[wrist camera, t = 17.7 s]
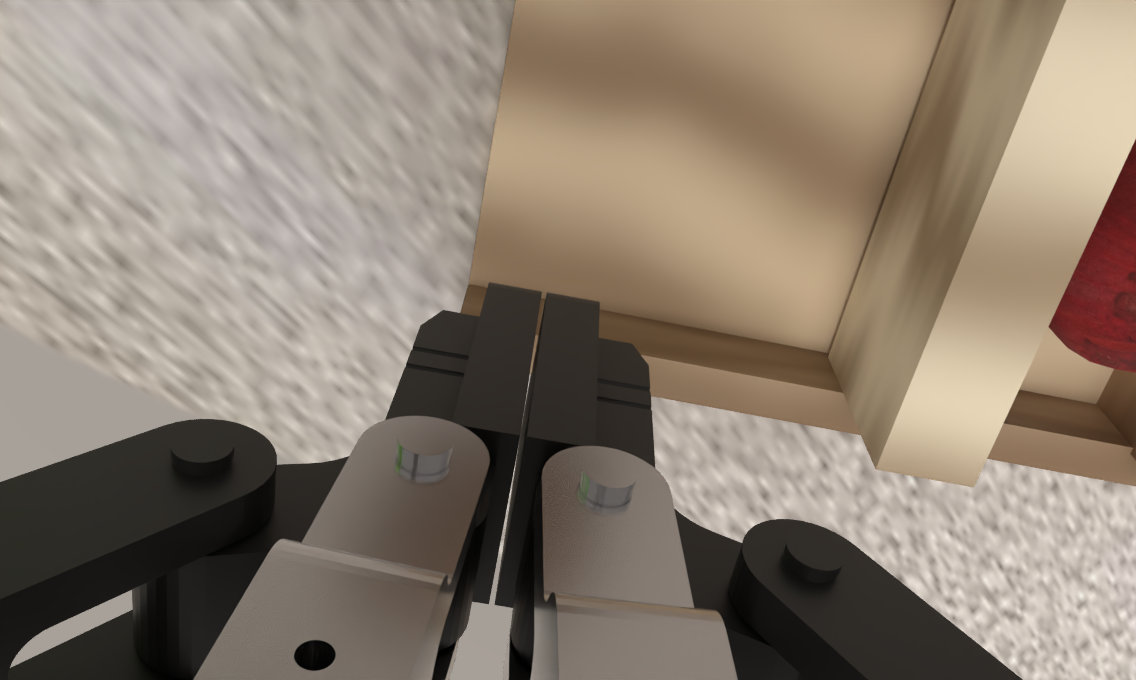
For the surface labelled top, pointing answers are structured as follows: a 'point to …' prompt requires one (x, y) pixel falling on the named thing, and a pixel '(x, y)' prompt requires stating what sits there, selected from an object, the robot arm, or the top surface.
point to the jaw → (984, 225)
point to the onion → (1105, 284)
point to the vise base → (738, 202)
